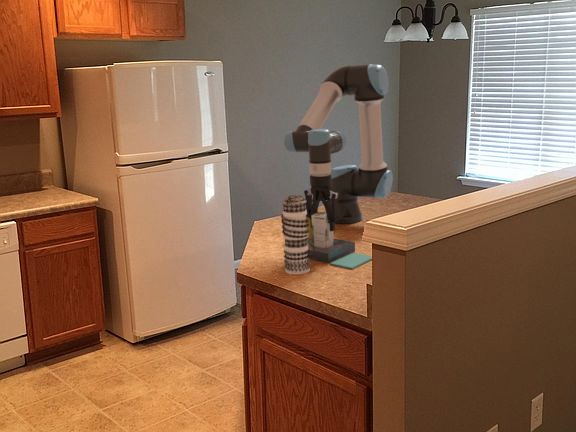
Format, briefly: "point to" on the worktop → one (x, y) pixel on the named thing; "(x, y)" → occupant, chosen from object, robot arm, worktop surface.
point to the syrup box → (320, 231)
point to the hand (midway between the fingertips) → (323, 238)
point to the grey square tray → (331, 251)
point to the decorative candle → (295, 235)
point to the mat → (352, 261)
